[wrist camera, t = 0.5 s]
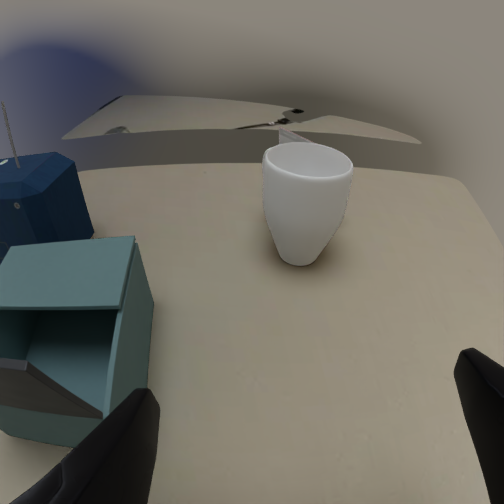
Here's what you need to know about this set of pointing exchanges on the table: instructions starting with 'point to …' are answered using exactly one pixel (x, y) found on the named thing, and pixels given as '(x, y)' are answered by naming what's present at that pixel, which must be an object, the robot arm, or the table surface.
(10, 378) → the hatch
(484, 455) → the robot arm
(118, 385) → the teal storage bin
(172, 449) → the table surface
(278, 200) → the mug
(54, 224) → the radio
